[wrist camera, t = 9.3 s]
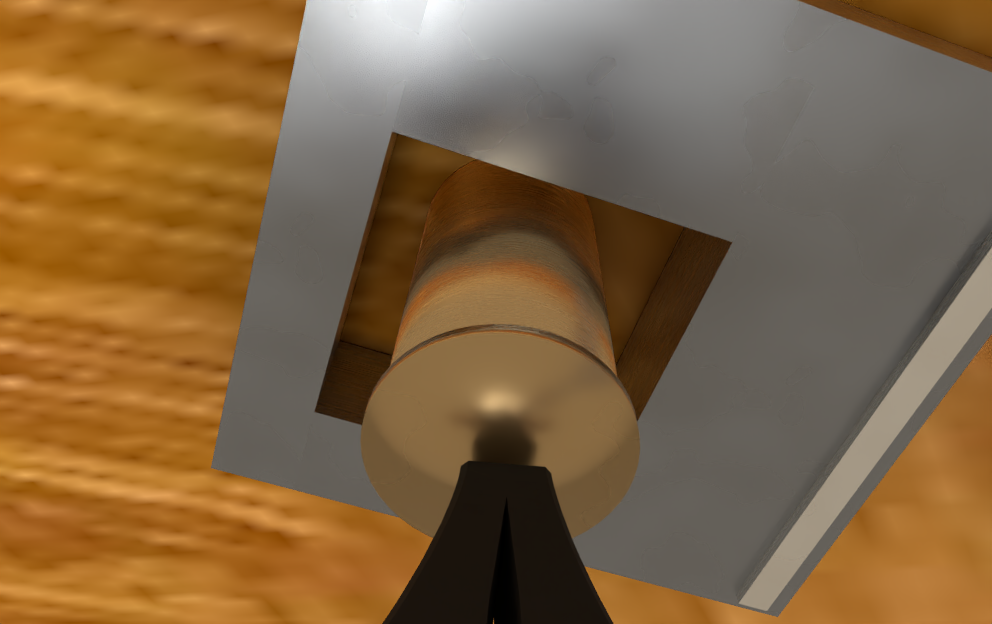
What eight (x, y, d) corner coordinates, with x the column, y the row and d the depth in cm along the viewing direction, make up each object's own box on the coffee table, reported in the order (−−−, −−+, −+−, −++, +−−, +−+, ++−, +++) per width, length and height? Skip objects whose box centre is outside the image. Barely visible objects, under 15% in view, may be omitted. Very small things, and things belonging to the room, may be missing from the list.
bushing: (614, 153, 19) (662, 347, 12) (589, 319, 21) (618, 561, 15) (419, 137, 19) (358, 323, 12) (415, 306, 21) (361, 542, 15)
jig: (1058, 82, 18) (1156, 135, 15) (752, 533, 25) (780, 626, 22) (371, -174, 16) (337, -169, 13) (246, 393, 23) (206, 476, 20)
